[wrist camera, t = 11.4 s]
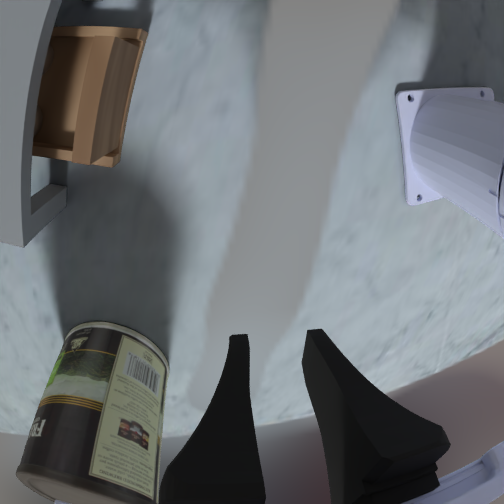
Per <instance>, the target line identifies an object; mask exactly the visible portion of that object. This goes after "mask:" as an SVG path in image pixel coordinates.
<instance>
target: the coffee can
mask: <svg viewBox="0 0 504 504" xmlns="http://www.w3.org/2000/svg"><path fill="white" fill-rule="evenodd" d="M168 377H169V366H168V362H167V360H166V358H165V356H164V354H163V353H162V352H161V351H160V349H159V348H158V347H157V346H156V345H155V344H154V343H152V342H151V341H150V340H149V339H147V338H146V337H145V336H143V335H141V334H139V333H138V332H136V331H134V330H131V329H129V328H127V327H124V326H120V325H117V324H114V323H108V322H87V323H83V324H80V325H78V326H76V327H74V328H73V329H72V330H71V331H70V332H69V333H68V334H67V336H66V338H65V341H64V344H63V347H62V349H61V352H60V354H59V356H58V359H57V361H56V363H55V366H54V368H53V371H52V373H51V376H50V378H49V381H48V383H47V386H46V388H45V391H44V393H43V396H42V398H41V401H40V404H39V407H38V410H37V412H36V415H35V418H34V421H33V424H32V427H31V430H30V433H29V437H28V440H27V443H26V446H25V449H24V453H23V456H22V460H21V463H20V465H19V466H18V468H17V472H16V476H17V478H18V479H19V480H20V481H21V482H22V483H23V484H24V485H26V486H27V487H28V488H30V489H31V490H33V491H34V492H36V493H38V494H39V495H41V496H43V497H45V498H47V499H49V500H51V501H53V502H55V500H59V501H62V502H66V503H70V504H158V489H159V470H160V454H161V441H162V440H161V439H162V429H163V417H164V406H165V396H166V387H167V380H168Z"/></svg>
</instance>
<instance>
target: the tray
mask: <svg viewBox="0 0 504 504" xmlns="http://www.w3.org/2000/svg"><path fill="white" fill-rule="evenodd" d="M147 36H148V33H147V32H146V31H144V30H143V29H137V28H124V27H104V26H61V27H54V28H53V31H52V35H51V39H50V42H49V46H48V50H47V55H46V59H45V64H44V68H43V73H42V78H41V84H40V89H39V96H38V102H37V109H36V117H35V125H34V135H33V147H32V156H39V157H47V158H54V159H61V160H67V161H72V162H73V163H80V164H86V165H91V164H93V165H99V166H105V167H111V168H112V167H114V166H115V165H116V164H117V163H119V162H120V156H121V150H122V144H123V138H124V132H125V127H126V122H127V117H128V112H129V107H130V102H131V97H132V93H133V89H134V84H135V80H136V76H137V72H138V68H139V64H140V61H141V57H142V53H143V50H144V46H145V43H146V39H147Z"/></svg>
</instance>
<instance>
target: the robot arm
mask: <svg viewBox="0 0 504 504" xmlns="http://www.w3.org/2000/svg"><path fill="white" fill-rule="evenodd" d="M480 92H481V95H480ZM408 95H410V96H411V100H410V101H408ZM395 99H396V105H397V112H398V119H399V127H400V135H401V144H402V154H403V165H404V178H405V196H406V202H407V203H408V204H409V205H411V206H414V205H418V204H422V203H425V202H429V201H433V200H437V199H441V198H444V197H445V198H446V199H448V200H449V201H451V202H452V203H454V204H455V205H457V206H458V207H460V208H461V209H463V210H464V211H466V212H467V213H469V214H470V215H472V216H473V217H475V218H476V219H477V220H479V221H480V222H482V223H483V224H484V225H486V226H487V227H489V228H490V229H491V230H493V231H494V232H495V233H497V234H498V235H499V236H501V237H502V238H503V239H504V103H501V102H496V101H495V100H494V92H493V90H492V89H491V88H488V87H457V88H433V89H418V90H405V91H399V92H398V93H397V94H396V98H395ZM418 195H420V196H419V198H418V199H417V196H418ZM249 367H250V347H249V340H248V336H247V334H238V335H231V336H230V337H229V349H228V354H227V358H226V362H225V366H224V369H223V372H222V375H221V378H220V381H219V384H218V386H217V388H216V391H215V393H214V396H213V398H212V400H211V403H210V404H209V406H208V408H207V410H206V412H205V414H204V416H203V418H202V419H201V421H200V423H199V425H198V426H197V428H196V429H195V431H194V433H193V434H192V435H191V437H190V439H189V440H188V441H187V443H186V444H185V446H184V447H183V449H182V450H181V451H180V452H179V453H178V455H177V456H176V457H175V458H174V460H173V461H172V462H171V463H170V464H169V465H168V467H167V469H166V471H165V474H164V476H163V479H162V482H161V486H160V490H159V504H265V499H266V494H265V487H264V481H263V476H262V470H261V465H260V459H259V453H258V448H257V441H256V435H255V428H254V421H253V415H252V407H251V400H250V387H249V380H250V378H249V376H250V375H249V374H250V373H249V372H250V369H249ZM302 367H303V373H304V378H305V383H306V387H307V390H308V393H309V396H310V400H311V403H312V406H313V409H314V412H315V415H316V418H317V421H318V425H319V428H320V432H321V436H322V441H323V447H324V452H325V458H326V464H327V471H328V479H329V486H330V494H331V495H330V496H331V504H489V503H491V502H492V501H494V500H495V499H497V498H498V497H500V496H501V495H502V494H504V441H503V442H501V443H499V444H498V445H496V446H495V447H493V448H491V449H490V450H489V451H487V452H486V453H485V454H484V455H483V456H482V457H481V458H480V459H478V460H476V461H474V462H472V463H470V464H468V465H466V466H464V467H463V468H460V469H458V470H456V471H454V472H452V473H450V474H448V475H446V476H444V477H442V478H439V479H438V478H437V475H436V473H435V471H436V470H437V469H438V468H437V465H436V463H435V462H436V461H437V460H438V459H439V458H441V457H442V456H443V455H444V454H445V453H446V451H448V449H449V447H450V445H451V444H450V442H449V440H448V438H447V435H446V433H445V431H444V430H443V428H442V427H441V426H440V425H437V424H435V423H433V422H431V421H428V420H426V419H424V418H422V417H420V416H418V415H416V414H414V413H412V412H410V411H409V410H407V409H406V408H404V407H403V406H401V405H399V404H398V403H397V402H395V401H393V400H392V399H390V398H389V397H388V396H387V395H385V394H384V393H383V392H381V391H380V390H379V389H378V388H376V387H375V386H374V385H373V384H372V383H371V382H370V381H368V380H367V379H366V378H365V377H364V376H363V375H362V374H361V373H360V372H359V371H358V370H357V369H356V368H355V367H354V366H353V365H352V364H351V362H350V361H349V360H348V359H347V358H346V357H345V356H344V355H343V354H342V352H341V351H340V350H339V349H338V348H337V347H336V345H335V344H334V343H333V342H332V340H331V339H330V338H329V337H328V336H327V334H326V333H325V332H324V331H323V330H322V329H313V330H307V336H306V341H305V347H304V353H303V358H302ZM54 504H70V503H66V502H62V501H59V500H55V502H54Z"/></svg>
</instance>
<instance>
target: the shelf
mask: <svg viewBox="0 0 504 504" xmlns="http://www.w3.org/2000/svg"><path fill="white" fill-rule="evenodd" d="M82 1H103V0H82ZM61 2H62V0H0V242H3V243H7V244H11V245H14V246H18V247H22V248H24V247H25V246H26V245H27V244H28V243H29V242H30V241H31V240H32V239H33V238H34V237H35V236H36V235H37V234H38V233H39V232H40V231H41V230H42V229H43V228H44V227H45V226H46V225H47V224H48V223H49V222H50V221H51V220H52V219H53V218H54V217H55V216H56V215H57V214H58V213H60V212H61V211H62V210H63V209H64V208H65V207H66V196H67V187H65V186H60V185H54V184H49V185H47V186H46V187H44V188H43V189H42V190H40V191H39V192H37V193H36V194H35V195H33V196H32V197H31V163H32V147H33V135H34V125H35V117H36V109H37V102H38V96H39V89H40V84H41V78H42V73H43V68H44V64H45V59H46V55H47V50H48V46H49V42H50V39H51V35H52V31H53V28H54V24H55V21H56V18H57V14H58V11H59V8H60V5H61Z"/></svg>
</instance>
